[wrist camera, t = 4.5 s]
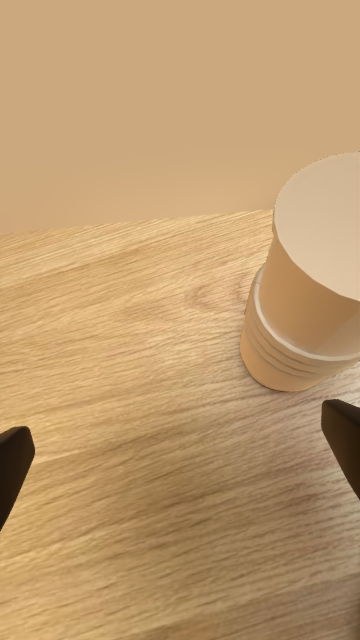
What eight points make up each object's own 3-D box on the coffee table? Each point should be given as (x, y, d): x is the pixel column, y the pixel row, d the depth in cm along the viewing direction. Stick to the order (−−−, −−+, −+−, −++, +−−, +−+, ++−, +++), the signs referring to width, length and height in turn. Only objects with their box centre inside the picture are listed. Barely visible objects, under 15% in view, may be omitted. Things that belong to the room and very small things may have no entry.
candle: (260, 303, 25) (318, 130, 11) (336, 342, 22) (527, 186, 9) (220, 366, 23) (233, 248, 9) (300, 415, 20) (473, 356, 7)
